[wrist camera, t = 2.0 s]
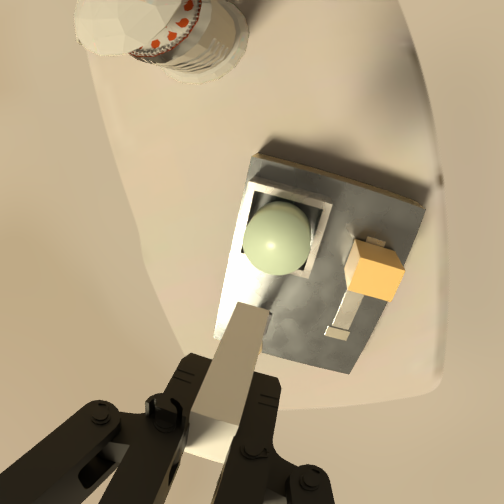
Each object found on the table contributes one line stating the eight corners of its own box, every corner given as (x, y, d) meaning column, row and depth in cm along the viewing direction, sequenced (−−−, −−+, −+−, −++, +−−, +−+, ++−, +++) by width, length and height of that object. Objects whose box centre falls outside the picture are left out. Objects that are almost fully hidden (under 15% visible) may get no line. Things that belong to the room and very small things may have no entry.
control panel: (257, 152, 30) (245, 159, 25) (416, 201, 28) (434, 218, 23) (220, 322, 38) (206, 352, 33) (348, 357, 37) (349, 389, 32)
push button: (257, 194, 26) (250, 203, 23) (318, 211, 25) (318, 222, 23) (244, 249, 28) (236, 264, 25) (301, 265, 27) (299, 282, 25)
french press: (250, 80, 27) (49, -8, 4) (139, 93, 29) (-95, 111, 7) (247, -10, 23) (107, -181, 1) (138, 10, 25) (-65, -49, 3)
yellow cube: (354, 238, 28) (360, 257, 24) (395, 251, 27) (405, 270, 24) (344, 268, 29) (347, 290, 25) (383, 279, 29) (390, 302, 25)
